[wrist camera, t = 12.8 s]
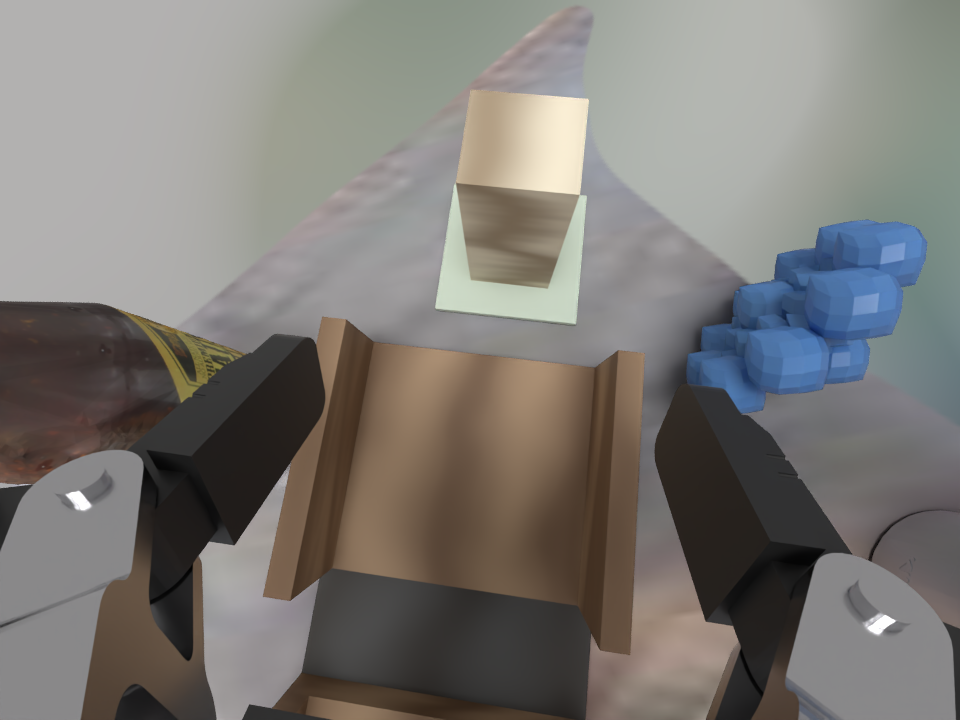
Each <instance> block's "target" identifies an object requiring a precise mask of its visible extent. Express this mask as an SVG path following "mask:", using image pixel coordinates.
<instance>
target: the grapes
mask: <svg viewBox="0 0 960 720" xmlns="http://www.w3.org/2000/svg"><path fill="white" fill-rule="evenodd" d="M926 250H927V241H926V240H925V238H924V237H923V235H922V233H921V232H920V230H919V229H917V228H916V227H914V226H911V225H907V224H903V223H899V222H887V223H878V222H875V221H870V220H860V221H850V222H844V223H839V224H834V225H830V226H826V227H821V228H819V232H818V236H817V240H816V247H815V248H811V249H800V250H795V251H790V252H785V253H781V254H778V255H777V260H776V265H775V274H774V278H775V280H771V281H768V282H762V283H757V284H751V285H746V286H741V287H740V288H739V290H738V291H735V294H734V302H733V314H734V317H733V318H732V324H726V323H724V324H718V325H712V326H706V327H702V337H701V352H696V353H691V354H688V359H687V370H686V377H687V383H688V384H693V385H701V386H709V387H718V388H723V389H724V390H726V392H727V393H728V394H729V396H730V398H731V399H732V401H733V402H734V404H735V405H736V407H737V409H738V410H739V412H740V413H741V414H742V413H751V412H755V411H760V410H763V407H764V403H765V398H766V392H770V393H774V394H794V393H807V392H812V391H817V390H822V389H823V387H824V384H836V383H848V382H854V381H859V380H863V377H864V375H865V372H866V370H867V367H868V364H869V355H870V348H869V346H868V343H867V341H866V339H870V338H877V337H882V336H887V335H891V334H892V332H893V330H894V327H895V325H896V323H897V320H898V318H899V315H900V313H901V309H902V299H903V290H902V289H901V287H905V286H910V285H915V284H916V281H917V279H918V277H919V274H920V272H921V269H922V267H923V264H924V262H925V259H926Z"/></svg>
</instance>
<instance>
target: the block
mask: <svg viewBox="0 0 960 720" xmlns="http://www.w3.org/2000/svg"><path fill="white" fill-rule="evenodd" d="M588 103H589V99H581V98H569V97H557V96H544V95H532V94H519V93H507V92H494V91H482V90H471V93H470V99H469V105H468V111H467V117H466V123H465V130H464V136H463V142H462V148H461V154H460V161H459V167H458V173H457V179H456V187H457V194H458V200H459V207H460V213H461V220H462V226H463V233H464V239H465V246H466V252H467V259H468V265H469V272H470V279H471V280H474V281H483V282H492V283H501V284H510V285H519V286H528V287H537V288H546V289H548V287H549V284H550V281H551V278H552V275H553V272H554V269H555V266H556V263H557V260H558V257H559V254H560V252H561V249H562V246H563V243H564V240H565V237H566V234H567V231H568V228H569V225H570V222H571V219H572V216H573V213H574V210H575V208H576V205H577V202H578V199H579V196H580V188H581V177H582V167H583V156H584V145H585V135H586V124H587V113H588Z"/></svg>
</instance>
